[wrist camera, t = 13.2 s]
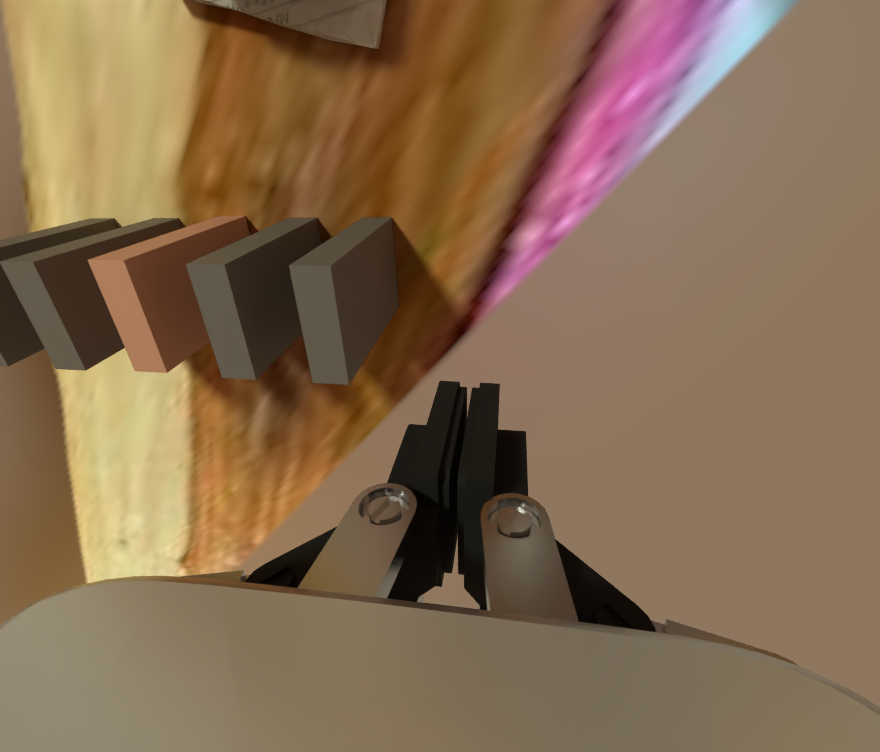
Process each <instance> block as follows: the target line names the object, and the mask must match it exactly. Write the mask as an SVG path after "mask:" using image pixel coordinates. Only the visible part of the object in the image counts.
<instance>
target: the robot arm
mask: <svg viewBox="0 0 880 752" xmlns="http://www.w3.org/2000/svg"><path fill="white" fill-rule="evenodd" d="M499 388H500V384H493V383H492V384H491V383H480V388H472V393H471V399H470V405H469V411H468V417H467V388H466V387H460V383H459V382H451V381H440V382H439V385H438V388H437V392H436V395H435V398H434V402H433V406H432V409H431V412H430V415H429V418H428V422H427V425H414V424H410V425H408V427H407V430H406V432H405V435H404V438H403V441H402V444H401V446H400V449H399V452H398V455H397V457H396V460H395V463H394V465H393V468H392V471H391V474H390V477H389V479H388V482H387V483H384V484H377V485H375V486H372V487H369V488H367V489H366V490H364V491H363V492H361V493H360V494H359V495H358V497H357V498H356V499H355V500H354V501H353V503H352V505H351V506H350V508H349V509H348V511H347V512H346V514H345V515H344V517H343V518H342V520H341V522H340V523H339V525H338V526H337V527H335V528H333V529H331V530H329V531H327V532H326V533H324V534H322V535H320V536H318V537H316V538H314V539H312V540H310V541H308V542H306V543H304V544H302V545H300V546H299V547H297V548H295V549H293V550H291V551H289V552H287V553H285V554H283V555H281V556H279V557H277V558H276V559H273V560H272V561H270V562H268V563H266V564H264V565H263V566H261V567H259V568H258V569H256V570H255V571H254V572H253V573H252V574H251V575H246V576H245V574H244V571H243V570H242V571H232V572H222V573H212V574H202V575H192V576H182V577H173V576H134V577H125V578H116V579H107V580H102V581H97V582H93V583H88V584H84V585H79V586H75V587H72V588H69V589H66V590H63V591H59V592H57V593H54V594H51V595H49V596H46V597H44V598H42V599H41V600H38V601H36V602H34V603H32V604H30V605H29V606H27V607H26V608H24V609H23V610H21V611H19V612H18V613H16V614H15V615H14V616H12V617H11V618H10V619H8V620H7V621H6V622H4V623H3V624H2V625H0V752H880V707H879V706H877V705H875V704H873V703H872V702H870V701H869V700H867V699H865V698H864V697H862V696H860V695H859V694H857V693H855V692H853V691H851V690H849V689H847V688H845V687H843V686H842V685H840V684H838V683H836V682H833V681H831V680H829V679H827V678H825V677H822V676H820V675H818V674H816V673H813V672H811V671H809V670H807V669H804V668H802V667H800V666H798V665H797V664H795V663H794V662H793V661H791V660H788V659H786V658H784V657H782V656H780V655H777V654H775V653H772V652H768V651H765V650H762V649H759V648H756V647H753V646H750V645H746V644H743V643H740V642H737V641H734V640H731V639H727V638H724V637H721V636H718V635H715V634H712V633H708V632H705V631H702V630H699V629H696V628H692V627H689V626H686V625H683V624H680V623H677V622H674V621H670V620H667V619H666V620H665V624H660V623H658V622H654V621H651V620H650V619H649V617H648V616H647V615H646V614H645V613H644V612H643V611H642V609H640V608H639V606H637V605H636V604H635V603H634V602H632V601H631V600H630V599H629V598H628V597H626V596H625V595H624V594H622V593H621V592H620V591H619V590H618V589H616V588H615V587H614V586H613V585H611V584H610V583H609V582H608V581H606V580H605V579H604V578H603V577H602V576H600V575H599V574H598V573H597V572H595V571H594V570H593V569H591V568H590V567H589V566H588V565H587V564H585V563H584V562H583V561H582V560H580V559H579V558H578V557H577V556H575V555H574V554H573V553H572V552H570V551H569V550H568V549H567V548H566V547H564V546H563V545H562V544H560V543H559V542H558V541H557V540H556V539H555V537H554V534H553V530H552V527H551V523H550V520H549V517H548V514H547V512H546V510H545V508H544V507H543V506H541V504H540V503H539V502H537V501H536V500H534V499H532V498H530V497H528V481H527V480H528V479H527V450H526V432H525V431H511V430H498V414H499ZM457 535H458V573H459V574H462V575H464V588H465V589H466V590H467V592H468V593H469V594H470V595H471V596H472V597H473V598H474V599H475V600H476V602H477V603H478V604H479V609H471V608H462V607H453V606H446V605H438V604H429V603H423V599H424V597H423V594H424V593H426V592H427V591H429V590H430V589H432V588H433V587H435V586H440V587H441V586H442V581H443V575H444V573H452V569H453V562H454V556H455V549H456V541H457Z"/></svg>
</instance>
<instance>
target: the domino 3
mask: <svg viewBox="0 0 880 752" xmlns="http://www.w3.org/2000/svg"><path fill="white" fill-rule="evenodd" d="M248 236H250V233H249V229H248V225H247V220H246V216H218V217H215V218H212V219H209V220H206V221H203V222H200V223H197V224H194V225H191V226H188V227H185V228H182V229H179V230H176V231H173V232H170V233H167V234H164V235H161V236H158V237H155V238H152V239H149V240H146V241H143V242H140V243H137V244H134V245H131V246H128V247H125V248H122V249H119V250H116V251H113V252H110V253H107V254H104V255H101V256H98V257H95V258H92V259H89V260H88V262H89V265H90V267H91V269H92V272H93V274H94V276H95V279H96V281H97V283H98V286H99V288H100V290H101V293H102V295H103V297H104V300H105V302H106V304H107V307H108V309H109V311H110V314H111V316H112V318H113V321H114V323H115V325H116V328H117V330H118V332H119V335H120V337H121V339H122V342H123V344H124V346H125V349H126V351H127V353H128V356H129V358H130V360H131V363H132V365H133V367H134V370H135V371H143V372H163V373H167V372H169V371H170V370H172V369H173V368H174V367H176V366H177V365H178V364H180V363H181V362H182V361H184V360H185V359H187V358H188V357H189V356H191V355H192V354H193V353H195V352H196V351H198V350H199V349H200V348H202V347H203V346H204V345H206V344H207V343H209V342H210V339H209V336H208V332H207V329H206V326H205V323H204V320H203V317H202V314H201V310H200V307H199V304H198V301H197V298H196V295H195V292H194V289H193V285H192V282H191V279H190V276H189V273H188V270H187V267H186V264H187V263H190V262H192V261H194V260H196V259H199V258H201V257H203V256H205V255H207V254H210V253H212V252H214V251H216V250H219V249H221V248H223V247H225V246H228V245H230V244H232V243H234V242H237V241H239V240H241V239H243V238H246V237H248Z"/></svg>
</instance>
